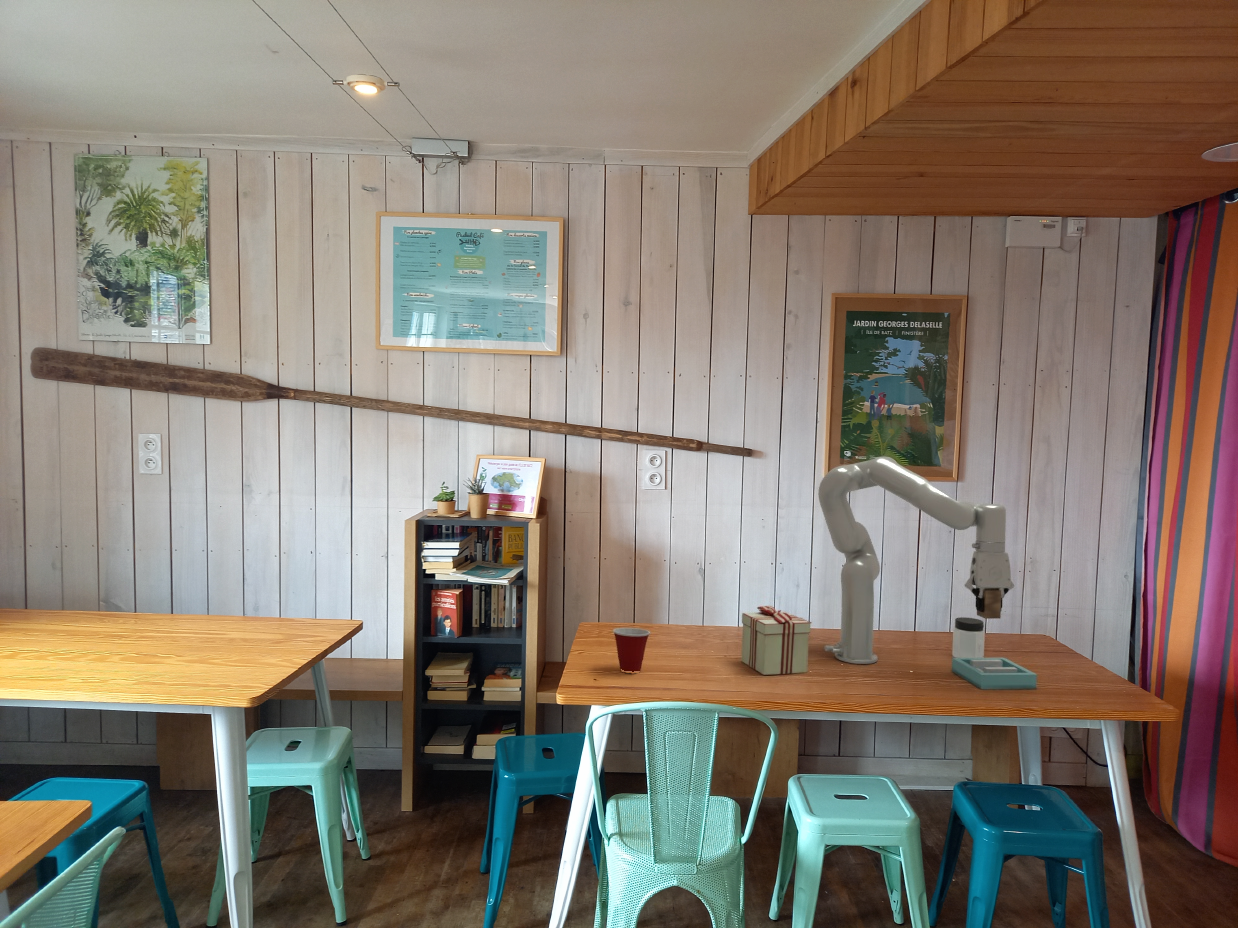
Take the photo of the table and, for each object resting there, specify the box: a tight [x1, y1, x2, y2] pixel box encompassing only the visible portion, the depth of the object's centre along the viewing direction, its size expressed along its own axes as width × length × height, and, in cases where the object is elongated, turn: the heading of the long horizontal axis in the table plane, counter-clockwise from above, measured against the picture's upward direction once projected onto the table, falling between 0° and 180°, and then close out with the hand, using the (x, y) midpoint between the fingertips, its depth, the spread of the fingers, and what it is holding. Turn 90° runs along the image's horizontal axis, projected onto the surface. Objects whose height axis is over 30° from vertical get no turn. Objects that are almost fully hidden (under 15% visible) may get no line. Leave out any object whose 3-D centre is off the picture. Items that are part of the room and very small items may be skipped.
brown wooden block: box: [976, 588, 1002, 620], centre depth 224 cm, size 4×4×8 cm
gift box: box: [740, 605, 812, 676], centre depth 233 cm, size 17×18×17 cm
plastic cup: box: [612, 627, 651, 672], centre depth 226 cm, size 11×11×12 cm
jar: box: [951, 616, 986, 658], centre depth 245 cm, size 9×8×12 cm
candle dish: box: [951, 657, 1038, 690], centre depth 224 cm, size 16×16×4 cm
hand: (988, 610), depth 224 cm, fingers closed on brown wooden block, 4 cm apart
